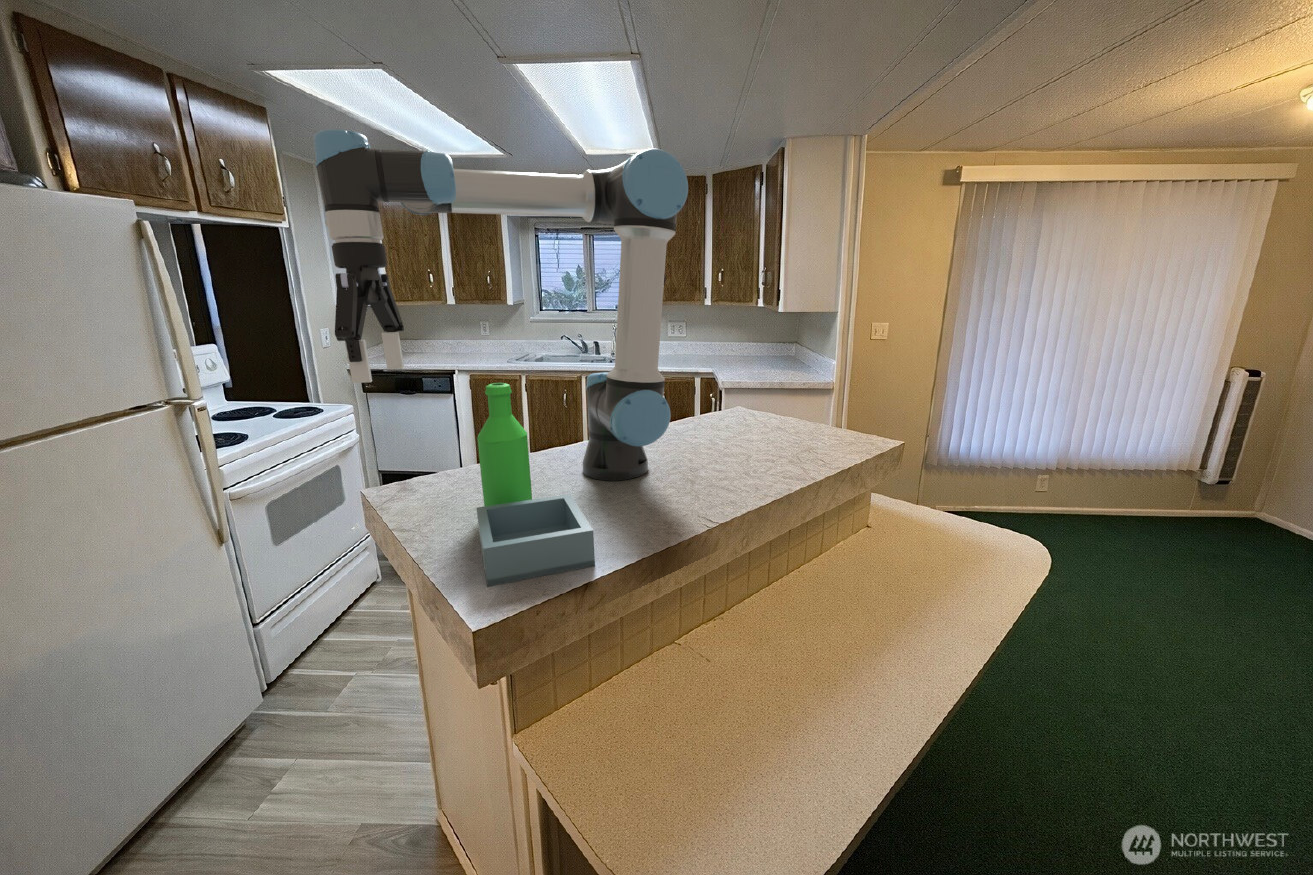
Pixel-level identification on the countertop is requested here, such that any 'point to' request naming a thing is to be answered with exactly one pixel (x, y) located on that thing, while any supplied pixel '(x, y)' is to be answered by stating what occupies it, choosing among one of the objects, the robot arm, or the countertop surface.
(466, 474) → the countertop surface
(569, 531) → the bin
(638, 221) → the robot arm
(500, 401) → the bottle
